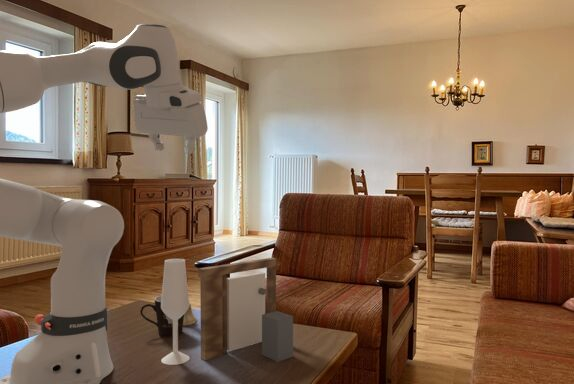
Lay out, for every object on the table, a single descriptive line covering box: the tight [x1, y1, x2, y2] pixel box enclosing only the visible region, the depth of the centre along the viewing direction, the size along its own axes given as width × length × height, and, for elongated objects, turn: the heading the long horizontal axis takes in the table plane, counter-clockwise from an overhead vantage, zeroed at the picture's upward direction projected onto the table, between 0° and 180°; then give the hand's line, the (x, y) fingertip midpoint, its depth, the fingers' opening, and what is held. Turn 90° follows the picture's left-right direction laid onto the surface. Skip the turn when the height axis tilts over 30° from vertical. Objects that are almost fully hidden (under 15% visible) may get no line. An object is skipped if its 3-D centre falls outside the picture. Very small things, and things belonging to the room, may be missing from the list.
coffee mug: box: [139, 295, 184, 338], centre depth 131 cm, size 12×9×10 cm
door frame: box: [197, 257, 277, 361], centre depth 119 cm, size 23×2×22 cm, turn 132°
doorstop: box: [261, 310, 294, 363], centre depth 115 cm, size 5×6×10 cm
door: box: [227, 272, 267, 352], centre depth 120 cm, size 12×3×18 cm, turn 132°
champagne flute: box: [160, 258, 190, 366], centre depth 112 cm, size 7×7×24 cm
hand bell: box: [183, 273, 198, 327], centre depth 141 cm, size 8×8×16 cm
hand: (174, 151), depth 115 cm, fingers open, 8 cm apart
